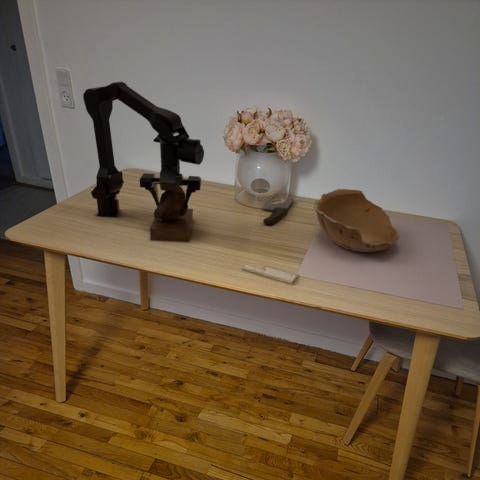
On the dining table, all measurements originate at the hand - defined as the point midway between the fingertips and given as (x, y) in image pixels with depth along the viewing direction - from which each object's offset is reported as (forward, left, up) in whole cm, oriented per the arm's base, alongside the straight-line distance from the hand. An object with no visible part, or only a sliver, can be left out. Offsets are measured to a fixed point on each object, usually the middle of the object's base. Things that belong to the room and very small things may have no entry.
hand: (171, 208), depth 142 cm
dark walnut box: (0, 0, -7) cm, 7 cm away
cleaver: (+36, +21, -8) cm, 42 cm away
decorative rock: (0, 0, -4) cm, 4 cm away
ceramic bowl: (+60, -2, -8) cm, 61 cm away
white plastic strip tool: (+31, -27, -8) cm, 42 cm away
